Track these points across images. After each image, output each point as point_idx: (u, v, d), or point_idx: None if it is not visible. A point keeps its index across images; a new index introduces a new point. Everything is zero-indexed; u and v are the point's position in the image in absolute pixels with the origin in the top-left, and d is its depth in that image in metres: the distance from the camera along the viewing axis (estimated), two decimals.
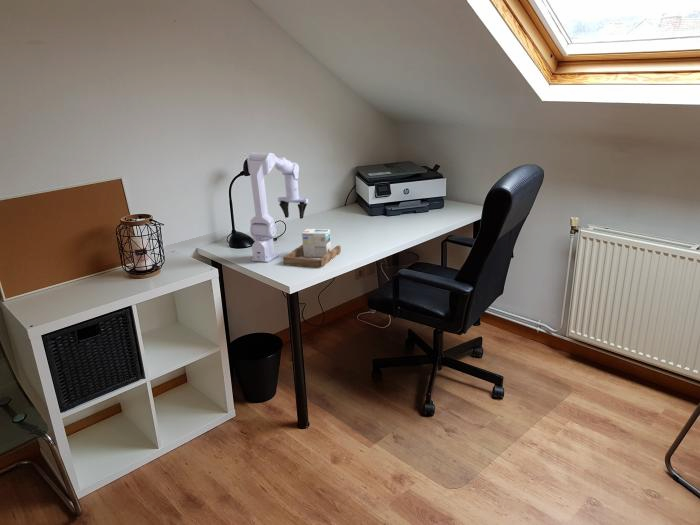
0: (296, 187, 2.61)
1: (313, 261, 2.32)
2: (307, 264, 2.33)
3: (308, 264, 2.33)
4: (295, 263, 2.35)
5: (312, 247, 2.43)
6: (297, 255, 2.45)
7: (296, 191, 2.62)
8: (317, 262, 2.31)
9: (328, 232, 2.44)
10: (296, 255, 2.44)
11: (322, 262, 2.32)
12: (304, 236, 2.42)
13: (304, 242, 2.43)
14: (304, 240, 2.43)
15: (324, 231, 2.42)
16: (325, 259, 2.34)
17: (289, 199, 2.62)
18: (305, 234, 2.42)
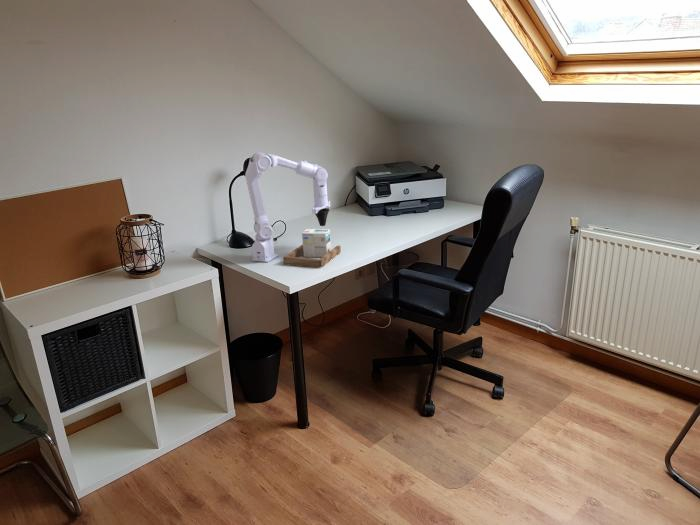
0: (320, 194, 2.44)
1: (313, 261, 2.32)
2: (307, 264, 2.33)
3: (308, 264, 2.33)
4: (295, 263, 2.35)
5: (312, 247, 2.43)
6: (297, 255, 2.45)
7: (316, 198, 2.45)
8: (317, 262, 2.31)
9: (328, 232, 2.44)
10: (296, 255, 2.44)
11: (322, 262, 2.32)
12: (304, 236, 2.42)
13: (304, 242, 2.43)
14: (304, 240, 2.43)
15: (324, 231, 2.42)
16: (325, 259, 2.34)
17: None
18: (305, 234, 2.42)
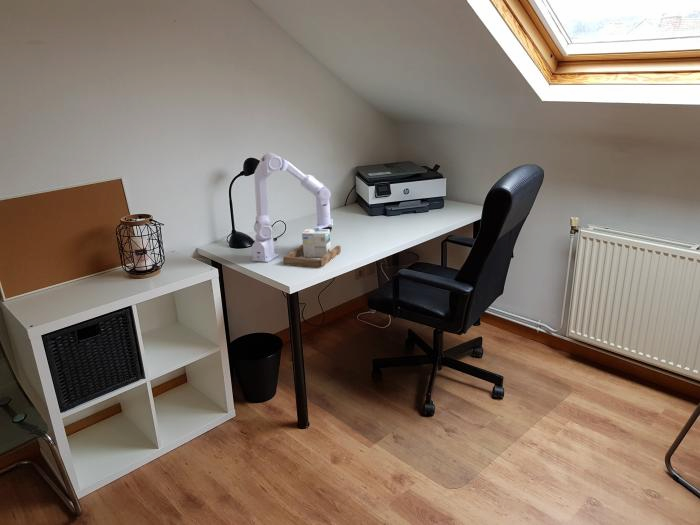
0: (323, 213, 2.46)
1: (313, 261, 2.32)
2: (307, 264, 2.33)
3: (308, 264, 2.33)
4: (295, 263, 2.35)
5: (312, 247, 2.43)
6: (297, 255, 2.45)
7: (319, 216, 2.48)
8: (317, 262, 2.31)
9: (328, 232, 2.44)
10: (296, 255, 2.44)
11: (322, 262, 2.32)
12: (304, 236, 2.42)
13: (304, 242, 2.43)
14: (304, 240, 2.43)
15: (324, 231, 2.42)
16: (325, 259, 2.34)
17: None
18: (305, 234, 2.42)
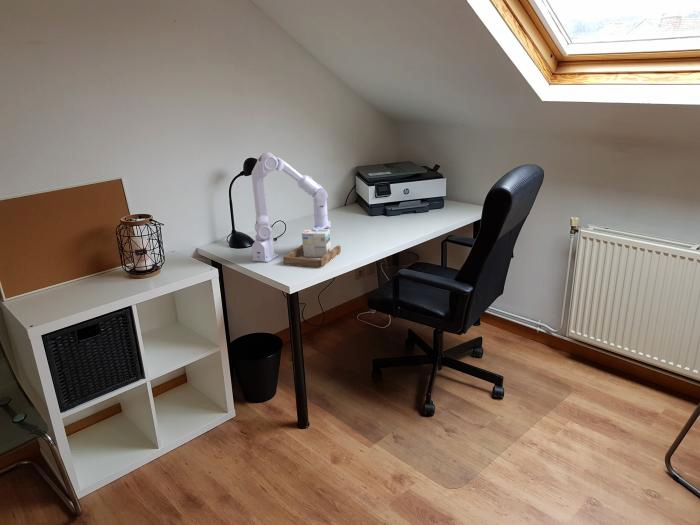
0: (320, 214, 2.44)
1: (313, 261, 2.32)
2: (307, 264, 2.33)
3: (308, 264, 2.33)
4: (295, 263, 2.35)
5: (312, 247, 2.43)
6: (297, 255, 2.45)
7: (316, 218, 2.45)
8: (317, 262, 2.31)
9: (328, 232, 2.43)
10: (296, 255, 2.44)
11: (322, 262, 2.32)
12: (304, 236, 2.42)
13: (304, 242, 2.43)
14: (304, 240, 2.43)
15: (324, 231, 2.42)
16: (325, 259, 2.34)
17: None
18: (305, 234, 2.41)
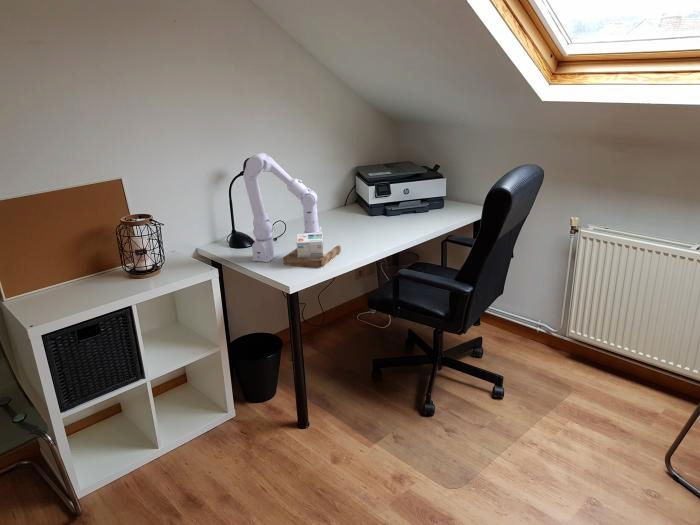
0: (307, 220, 2.36)
1: (313, 261, 2.32)
2: (307, 264, 2.33)
3: (308, 264, 2.33)
4: (295, 263, 2.35)
5: (308, 255, 2.35)
6: (297, 255, 2.45)
7: (306, 224, 2.37)
8: (317, 262, 2.31)
9: (322, 236, 2.35)
10: (296, 255, 2.44)
11: (322, 262, 2.32)
12: (299, 245, 2.32)
13: (299, 250, 2.34)
14: (299, 249, 2.33)
15: (319, 237, 2.33)
16: (325, 259, 2.34)
17: None
18: (300, 243, 2.31)
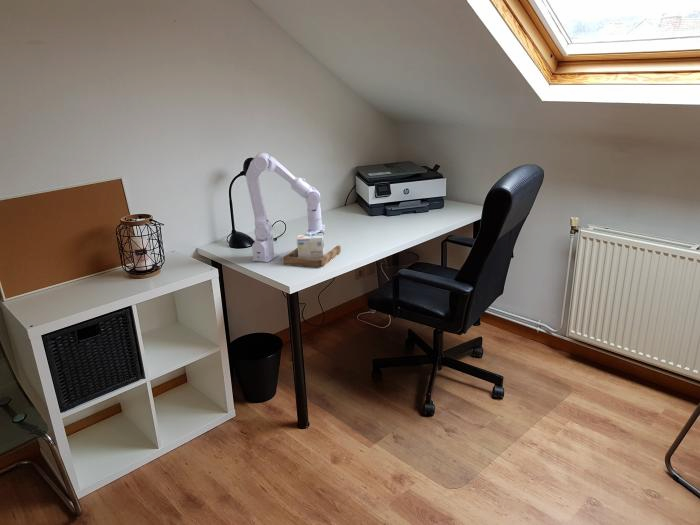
0: (312, 218, 2.39)
1: (313, 261, 2.32)
2: (307, 264, 2.33)
3: (308, 264, 2.33)
4: (295, 263, 2.35)
5: (308, 253, 2.36)
6: (297, 255, 2.45)
7: (310, 222, 2.40)
8: (317, 262, 2.31)
9: (322, 236, 2.38)
10: (296, 255, 2.44)
11: (322, 262, 2.32)
12: (299, 242, 2.35)
13: (299, 248, 2.36)
14: (299, 246, 2.35)
15: (319, 235, 2.37)
16: (325, 259, 2.34)
17: None
18: (300, 240, 2.34)
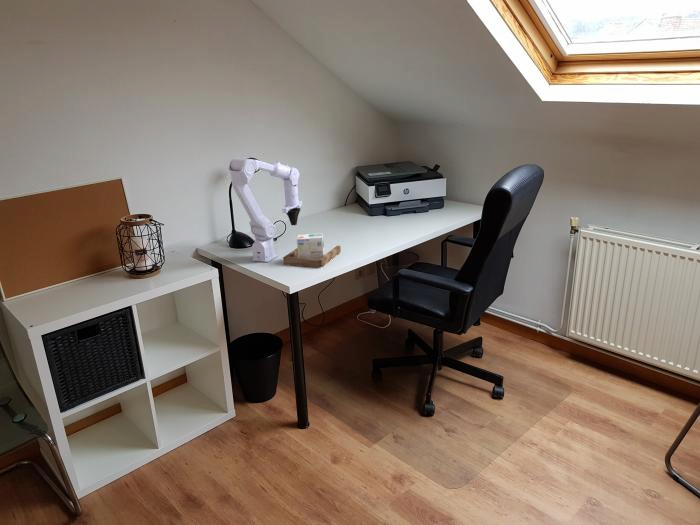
0: (294, 193, 2.48)
1: (313, 261, 2.32)
2: (307, 264, 2.33)
3: (308, 264, 2.33)
4: (295, 263, 2.35)
5: (308, 253, 2.36)
6: (297, 255, 2.45)
7: (287, 198, 2.49)
8: (317, 262, 2.31)
9: (322, 236, 2.38)
10: (296, 255, 2.44)
11: (322, 262, 2.32)
12: (299, 242, 2.35)
13: (299, 248, 2.36)
14: (299, 246, 2.35)
15: (319, 235, 2.37)
16: (325, 259, 2.34)
17: None
18: (300, 240, 2.34)
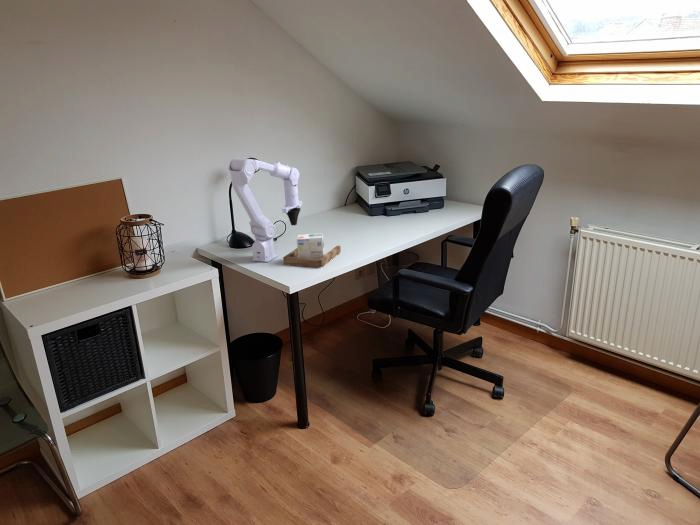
0: (294, 193, 2.48)
1: (313, 261, 2.32)
2: (307, 264, 2.33)
3: (308, 264, 2.33)
4: (295, 263, 2.35)
5: (308, 253, 2.36)
6: (297, 255, 2.45)
7: (287, 198, 2.49)
8: (317, 262, 2.31)
9: (322, 236, 2.38)
10: (296, 255, 2.44)
11: (322, 262, 2.32)
12: (299, 242, 2.35)
13: (299, 248, 2.36)
14: (299, 246, 2.35)
15: (319, 235, 2.37)
16: (325, 259, 2.34)
17: None
18: (300, 240, 2.34)
